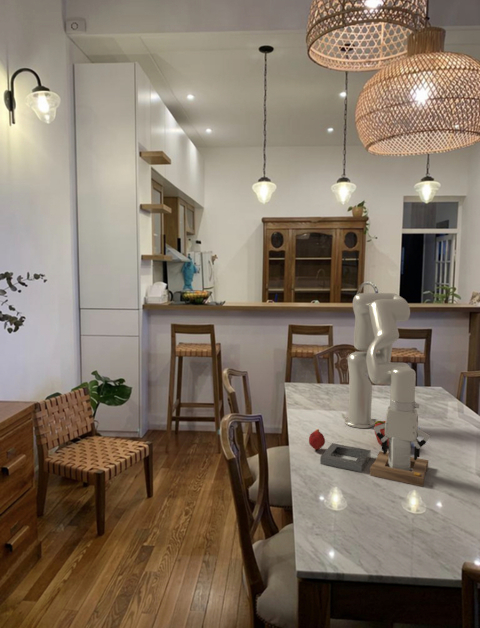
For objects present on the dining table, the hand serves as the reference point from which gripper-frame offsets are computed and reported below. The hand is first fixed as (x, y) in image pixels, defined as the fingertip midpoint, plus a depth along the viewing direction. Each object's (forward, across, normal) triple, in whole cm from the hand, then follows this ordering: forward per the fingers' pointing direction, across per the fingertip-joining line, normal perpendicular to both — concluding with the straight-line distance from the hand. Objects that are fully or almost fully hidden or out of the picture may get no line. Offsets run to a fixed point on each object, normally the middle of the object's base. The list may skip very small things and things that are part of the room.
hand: (400, 455), depth 149 cm
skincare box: (+6, 0, 0) cm, 6 cm away
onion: (+6, +30, -4) cm, 31 cm away
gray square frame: (+5, +18, 0) cm, 19 cm away
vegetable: (+6, +8, -21) cm, 23 cm away
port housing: (+5, 0, 0) cm, 5 cm away
